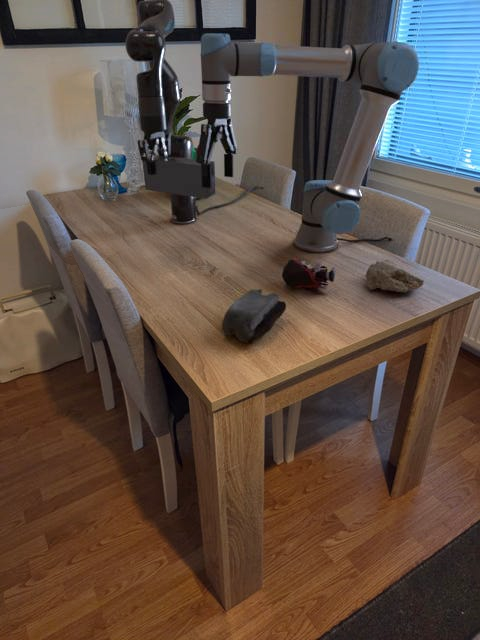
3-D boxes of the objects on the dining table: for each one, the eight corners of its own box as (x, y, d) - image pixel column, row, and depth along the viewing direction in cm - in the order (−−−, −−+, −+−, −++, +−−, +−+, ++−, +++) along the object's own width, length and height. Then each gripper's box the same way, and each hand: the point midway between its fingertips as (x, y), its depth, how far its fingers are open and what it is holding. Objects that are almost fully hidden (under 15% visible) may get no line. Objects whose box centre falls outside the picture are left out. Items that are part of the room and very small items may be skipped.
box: (145, 189, 139) (141, 158, 134) (156, 185, 144) (153, 154, 139) (206, 198, 131) (204, 165, 126) (215, 193, 136) (214, 161, 131)
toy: (334, 253, 124) (283, 248, 130) (327, 283, 122) (275, 277, 127) (338, 272, 135) (291, 267, 140) (332, 300, 132) (284, 294, 138)
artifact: (384, 303, 127) (425, 296, 132) (391, 281, 123) (434, 275, 127) (349, 272, 141) (388, 267, 145) (355, 251, 136) (395, 247, 141)
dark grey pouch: (257, 354, 105) (257, 326, 101) (216, 341, 109) (215, 314, 105) (287, 319, 119) (289, 292, 114) (250, 308, 123) (250, 283, 119)
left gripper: (148, 117, 122) (154, 179, 131) (176, 111, 133) (180, 168, 142) (126, 115, 125) (133, 176, 134) (155, 109, 136) (160, 166, 145)
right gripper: (205, 107, 108) (208, 194, 119) (248, 98, 127) (247, 173, 138) (179, 105, 111) (184, 190, 122) (225, 97, 130) (226, 171, 141)
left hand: (157, 172), depth 138 cm, fingers closed on box, 6 cm apart
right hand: (218, 182), depth 130 cm, fingers open, 13 cm apart
